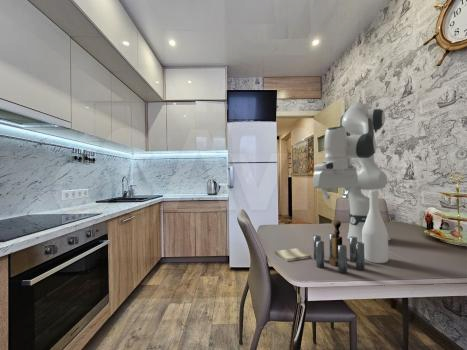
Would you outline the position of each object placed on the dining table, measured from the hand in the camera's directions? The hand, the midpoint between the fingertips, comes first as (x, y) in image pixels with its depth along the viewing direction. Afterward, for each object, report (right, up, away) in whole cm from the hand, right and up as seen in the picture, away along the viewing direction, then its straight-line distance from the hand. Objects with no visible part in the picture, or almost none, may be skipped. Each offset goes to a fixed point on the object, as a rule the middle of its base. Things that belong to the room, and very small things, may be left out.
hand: (336, 198), depth 97 cm
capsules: (0, -27, 0) cm, 27 cm away
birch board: (-16, -27, +11) cm, 33 cm away
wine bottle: (+18, -27, +4) cm, 33 cm away
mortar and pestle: (+1, -27, 0) cm, 27 cm away
